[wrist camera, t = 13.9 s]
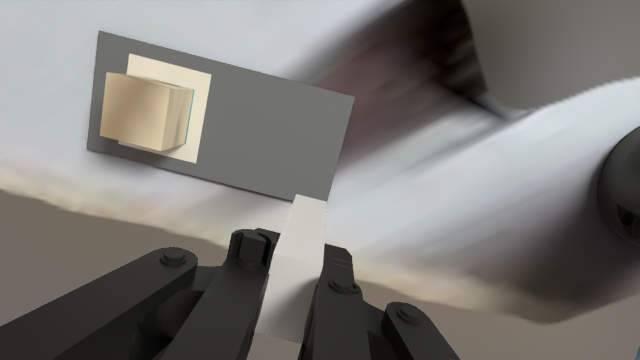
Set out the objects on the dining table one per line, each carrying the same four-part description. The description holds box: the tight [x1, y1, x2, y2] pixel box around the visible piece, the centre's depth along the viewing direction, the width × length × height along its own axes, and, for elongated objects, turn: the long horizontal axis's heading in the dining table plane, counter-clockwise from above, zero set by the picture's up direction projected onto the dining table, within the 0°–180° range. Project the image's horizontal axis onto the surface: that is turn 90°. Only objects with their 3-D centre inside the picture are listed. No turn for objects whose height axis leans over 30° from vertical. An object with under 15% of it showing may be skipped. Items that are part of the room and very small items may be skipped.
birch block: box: [100, 72, 195, 151], centre depth 37 cm, size 6×6×6 cm
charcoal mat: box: [87, 31, 355, 202], centre depth 40 cm, size 28×13×1 cm, turn 76°
